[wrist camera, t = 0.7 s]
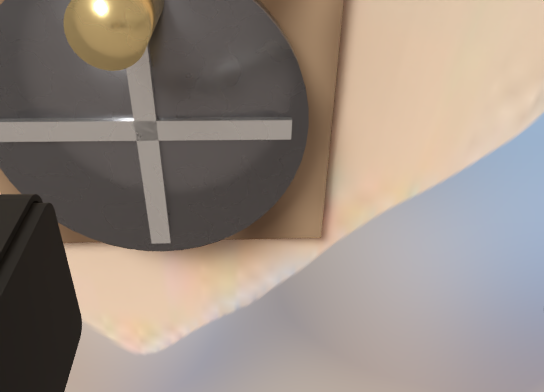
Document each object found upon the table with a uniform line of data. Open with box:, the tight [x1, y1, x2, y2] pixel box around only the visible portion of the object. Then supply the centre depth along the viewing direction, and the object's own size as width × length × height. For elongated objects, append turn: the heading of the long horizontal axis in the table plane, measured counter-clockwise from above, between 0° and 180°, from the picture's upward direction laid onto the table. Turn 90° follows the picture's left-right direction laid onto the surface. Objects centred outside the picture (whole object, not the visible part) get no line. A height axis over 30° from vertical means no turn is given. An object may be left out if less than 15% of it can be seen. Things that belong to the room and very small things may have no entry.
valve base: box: [0, 0, 344, 243], centre depth 32 cm, size 22×22×2 cm
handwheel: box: [0, 0, 309, 251], centre depth 28 cm, size 18×18×9 cm
